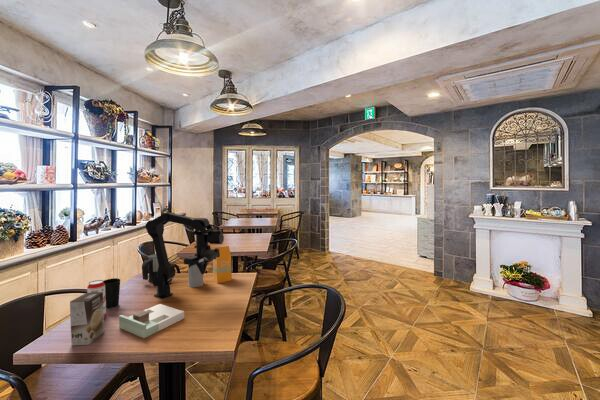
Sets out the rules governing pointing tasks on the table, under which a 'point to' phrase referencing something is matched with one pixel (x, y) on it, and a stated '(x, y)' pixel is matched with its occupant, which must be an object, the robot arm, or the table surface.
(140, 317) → the block
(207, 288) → the table surface
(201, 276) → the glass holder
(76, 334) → the coffee box
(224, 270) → the orange juice
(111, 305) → the cup
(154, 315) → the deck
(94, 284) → the beer can
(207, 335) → the table surface
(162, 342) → the table surface
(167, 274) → the robot arm
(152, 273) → the milk frother
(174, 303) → the table surface
